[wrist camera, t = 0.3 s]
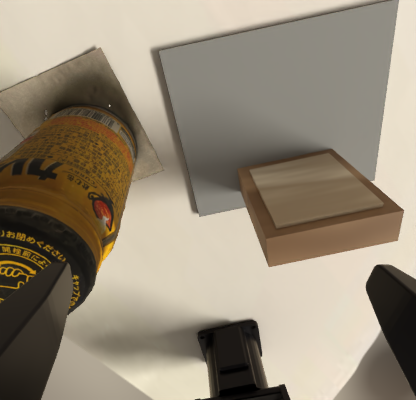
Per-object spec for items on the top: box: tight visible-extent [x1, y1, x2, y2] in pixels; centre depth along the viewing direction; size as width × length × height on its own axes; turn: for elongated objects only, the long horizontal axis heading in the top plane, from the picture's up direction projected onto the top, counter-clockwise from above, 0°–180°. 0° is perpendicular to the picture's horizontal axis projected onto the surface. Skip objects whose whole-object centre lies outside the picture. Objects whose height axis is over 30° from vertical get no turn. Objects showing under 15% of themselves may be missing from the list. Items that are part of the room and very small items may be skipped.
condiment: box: [0, 48, 164, 315], centre depth 15 cm, size 7×8×12 cm
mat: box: [159, 0, 399, 217], centre depth 21 cm, size 12×14×1 cm
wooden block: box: [237, 149, 404, 267], centre depth 19 cm, size 2×7×8 cm, turn 101°
